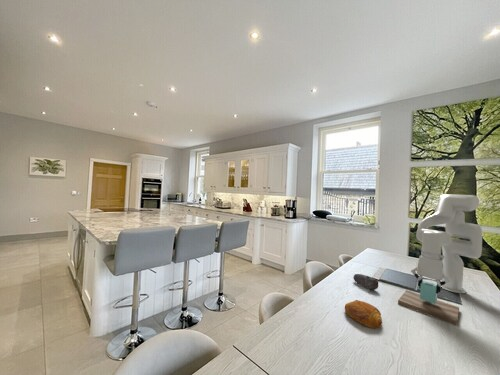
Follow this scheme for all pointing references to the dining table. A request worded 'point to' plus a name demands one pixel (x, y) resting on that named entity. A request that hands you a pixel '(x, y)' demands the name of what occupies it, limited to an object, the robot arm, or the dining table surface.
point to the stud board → (430, 307)
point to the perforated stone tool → (366, 281)
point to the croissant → (364, 313)
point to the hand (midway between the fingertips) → (428, 290)
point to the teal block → (428, 292)
